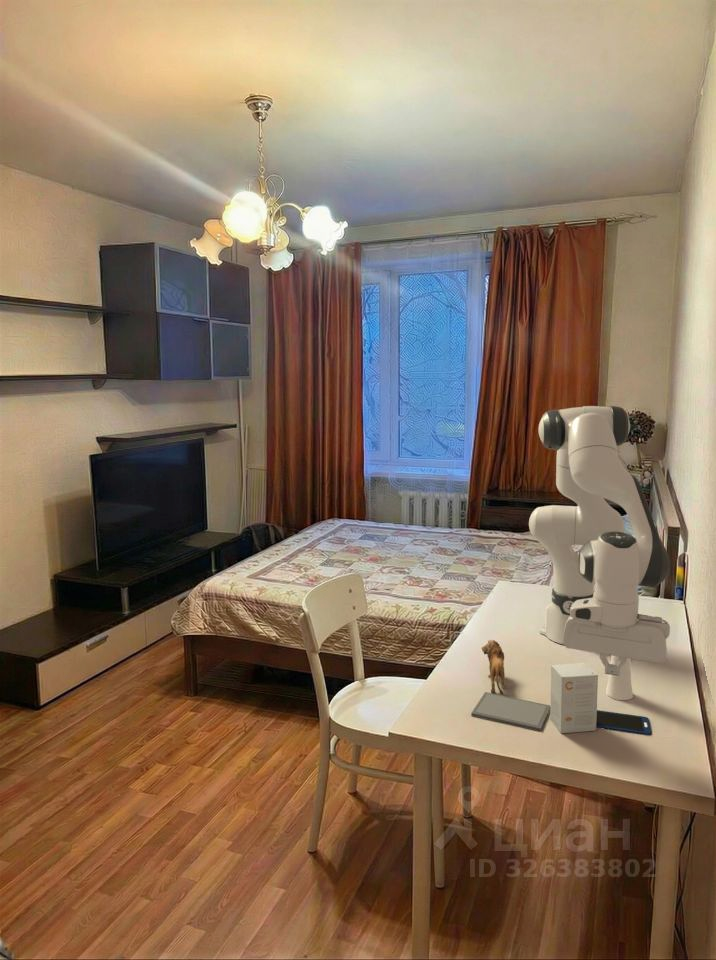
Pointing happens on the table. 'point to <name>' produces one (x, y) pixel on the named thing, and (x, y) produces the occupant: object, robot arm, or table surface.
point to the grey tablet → (512, 711)
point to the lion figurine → (495, 663)
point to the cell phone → (623, 722)
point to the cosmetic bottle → (620, 681)
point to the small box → (573, 697)
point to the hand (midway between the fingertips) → (612, 674)
